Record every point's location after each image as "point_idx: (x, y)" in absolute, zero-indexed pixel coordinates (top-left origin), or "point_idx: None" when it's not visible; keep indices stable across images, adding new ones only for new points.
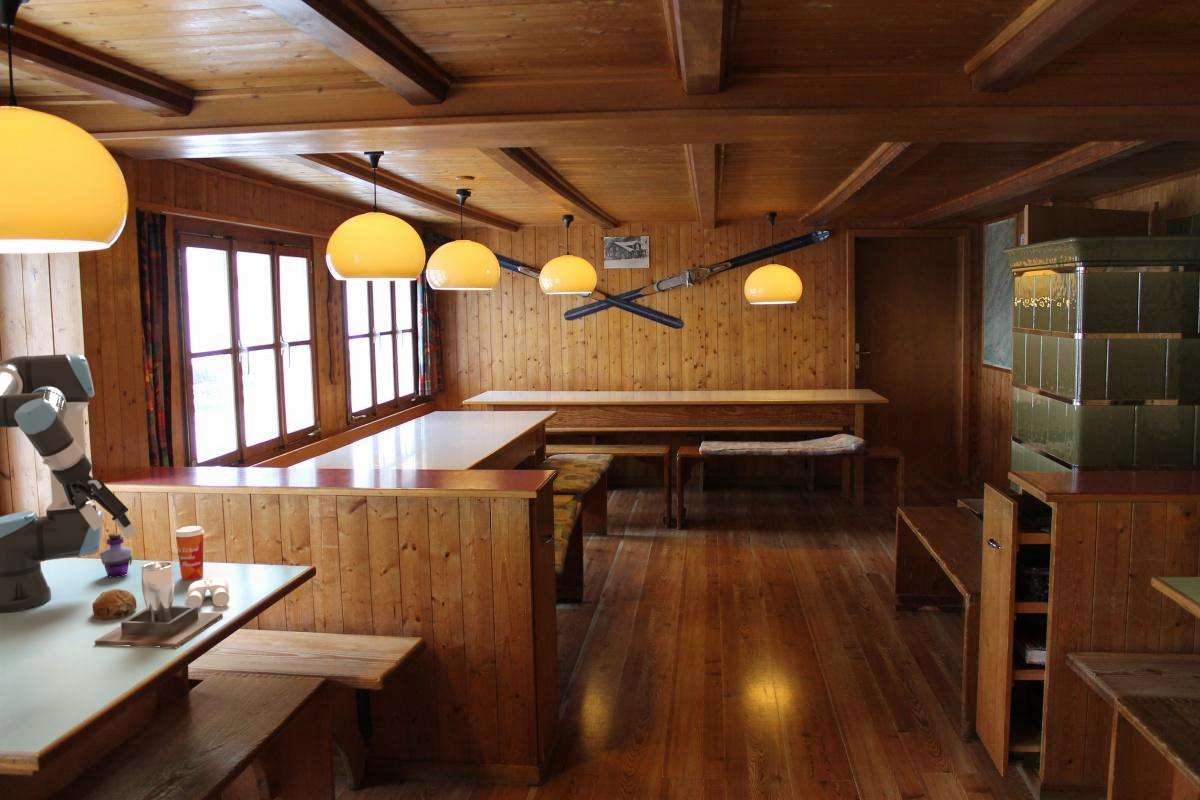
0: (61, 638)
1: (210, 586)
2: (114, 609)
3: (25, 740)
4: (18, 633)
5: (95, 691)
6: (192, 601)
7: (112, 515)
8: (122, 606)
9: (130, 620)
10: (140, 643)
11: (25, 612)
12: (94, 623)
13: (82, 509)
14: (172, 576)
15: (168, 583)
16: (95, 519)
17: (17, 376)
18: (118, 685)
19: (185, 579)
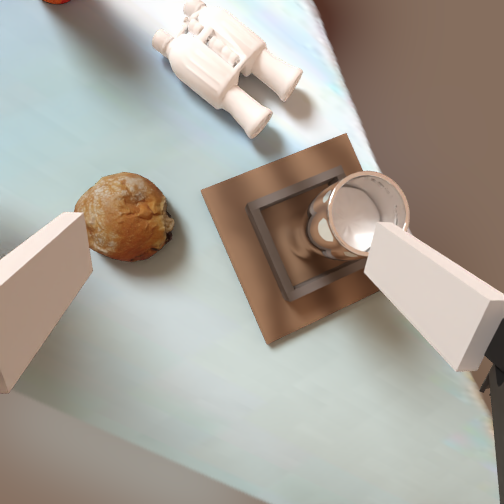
0: (173, 358)
1: (246, 60)
2: (164, 240)
3: None
4: (59, 392)
5: (454, 450)
6: (259, 125)
7: (494, 388)
8: (167, 223)
9: (290, 281)
10: (349, 304)
11: None
12: (150, 276)
13: (7, 378)
14: (384, 196)
15: (383, 217)
16: (67, 264)
17: None
18: (462, 418)
19: (60, 3)
